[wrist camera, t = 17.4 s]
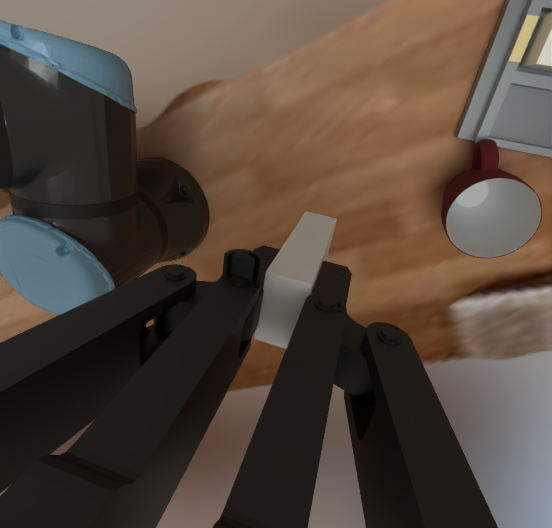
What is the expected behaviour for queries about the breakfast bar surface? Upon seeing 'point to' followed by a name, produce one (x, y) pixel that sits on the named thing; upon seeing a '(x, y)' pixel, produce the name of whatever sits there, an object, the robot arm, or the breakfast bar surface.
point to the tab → (540, 46)
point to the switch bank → (511, 87)
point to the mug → (489, 207)
